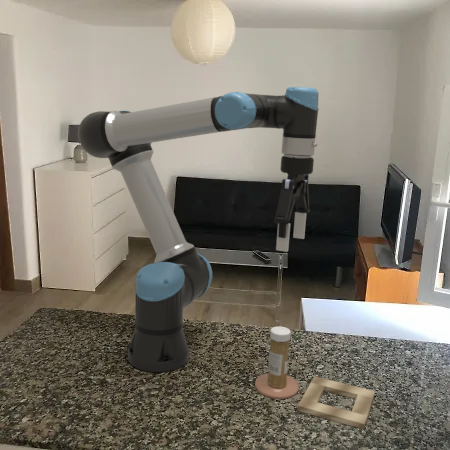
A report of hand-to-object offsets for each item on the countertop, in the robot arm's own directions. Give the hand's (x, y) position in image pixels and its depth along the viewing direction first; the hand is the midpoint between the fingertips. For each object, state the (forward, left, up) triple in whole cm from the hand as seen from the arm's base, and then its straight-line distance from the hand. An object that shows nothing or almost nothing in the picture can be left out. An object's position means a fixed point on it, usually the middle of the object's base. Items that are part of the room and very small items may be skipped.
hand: (290, 244), depth 126 cm
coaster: (+3, -13, -31) cm, 33 cm away
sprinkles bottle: (+3, -13, -30) cm, 33 cm away
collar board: (+17, -13, -31) cm, 37 cm away
